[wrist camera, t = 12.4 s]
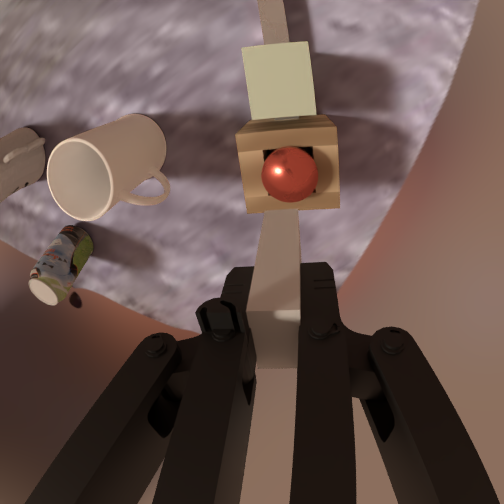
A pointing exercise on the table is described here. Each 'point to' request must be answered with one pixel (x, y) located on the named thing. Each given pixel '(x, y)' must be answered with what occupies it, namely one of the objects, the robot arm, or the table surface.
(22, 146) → the mug
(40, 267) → the beverage can
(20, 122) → the table surface
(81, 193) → the mug
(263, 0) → the rail
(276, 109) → the block
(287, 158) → the plunger
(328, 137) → the wooden boxy piece
